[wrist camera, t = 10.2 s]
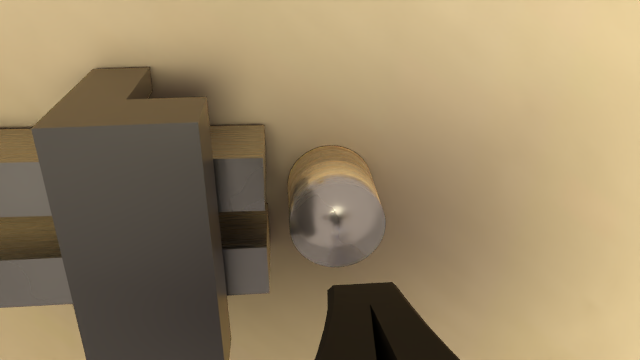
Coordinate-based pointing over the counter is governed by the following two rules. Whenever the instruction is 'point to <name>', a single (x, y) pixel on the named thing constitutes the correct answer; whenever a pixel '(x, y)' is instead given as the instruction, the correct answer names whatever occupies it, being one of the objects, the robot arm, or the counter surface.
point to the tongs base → (226, 233)
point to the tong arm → (228, 158)
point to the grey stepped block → (136, 218)
